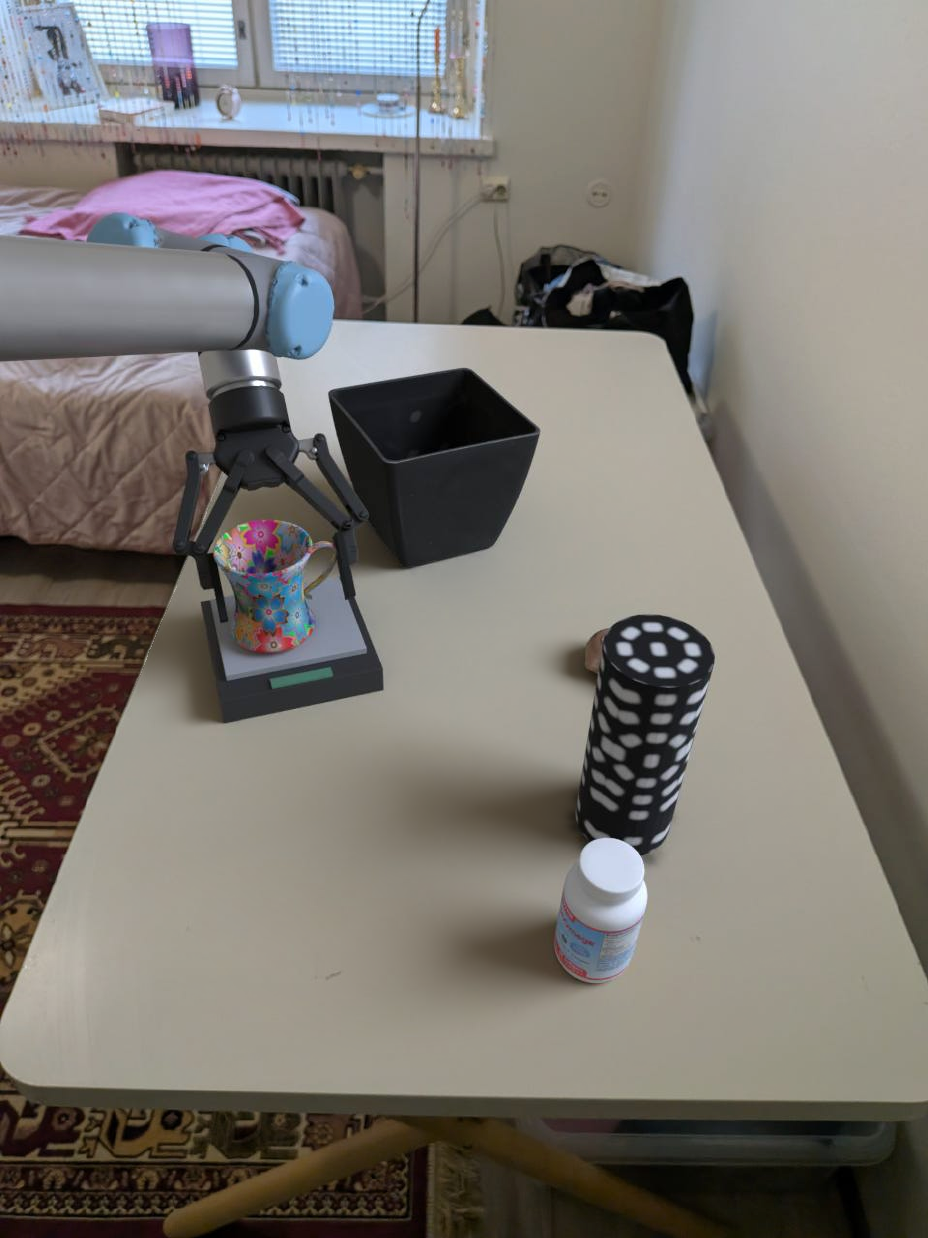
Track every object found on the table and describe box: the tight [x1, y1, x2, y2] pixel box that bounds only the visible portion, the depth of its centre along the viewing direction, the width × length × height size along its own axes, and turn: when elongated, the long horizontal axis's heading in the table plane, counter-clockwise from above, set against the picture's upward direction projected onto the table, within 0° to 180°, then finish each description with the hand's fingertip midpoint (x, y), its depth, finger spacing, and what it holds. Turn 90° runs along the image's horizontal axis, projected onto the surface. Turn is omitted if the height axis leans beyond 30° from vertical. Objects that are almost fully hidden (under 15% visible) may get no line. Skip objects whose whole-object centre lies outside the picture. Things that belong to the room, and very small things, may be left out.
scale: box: [200, 576, 385, 724], centre depth 96 cm, size 16×16×4 cm
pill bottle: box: [553, 838, 648, 984], centre depth 69 cm, size 6×6×11 cm
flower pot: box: [327, 367, 541, 568], centre depth 111 cm, size 19×19×17 cm
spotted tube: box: [575, 613, 716, 856], centre depth 76 cm, size 8×8×20 cm
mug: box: [212, 519, 338, 653], centre depth 92 cm, size 12×9×11 cm
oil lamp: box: [584, 627, 610, 675], centre depth 96 cm, size 9×4×8 cm
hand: (288, 609), depth 91 cm, fingers closed on mug, 12 cm apart
